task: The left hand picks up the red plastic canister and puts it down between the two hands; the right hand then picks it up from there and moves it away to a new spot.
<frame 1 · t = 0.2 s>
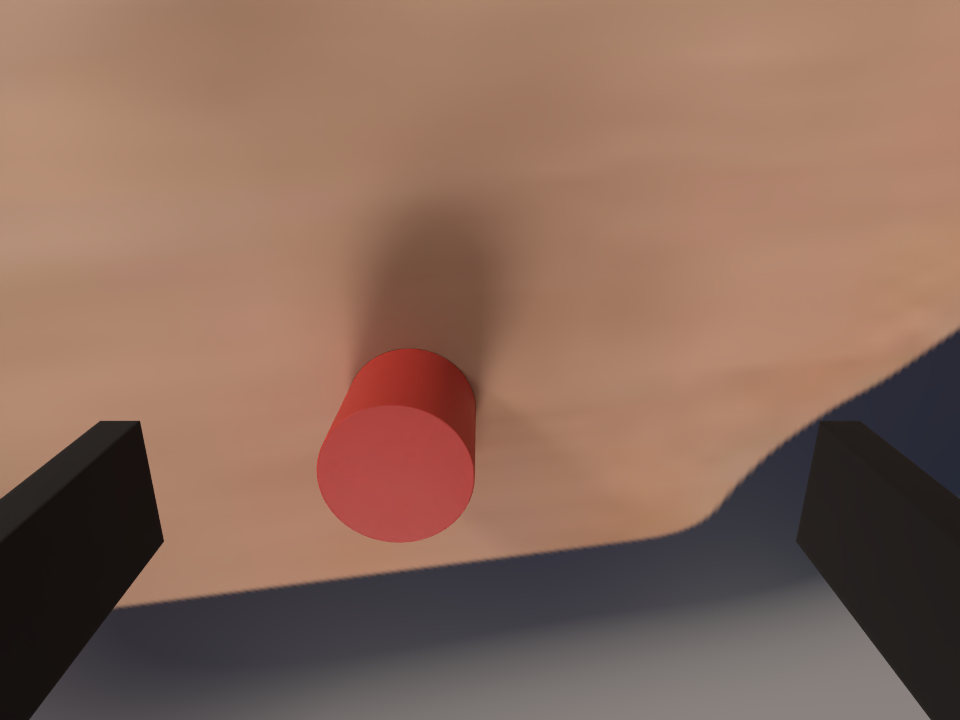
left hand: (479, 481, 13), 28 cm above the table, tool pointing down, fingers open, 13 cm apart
canister: (411, 408, 43), on the table
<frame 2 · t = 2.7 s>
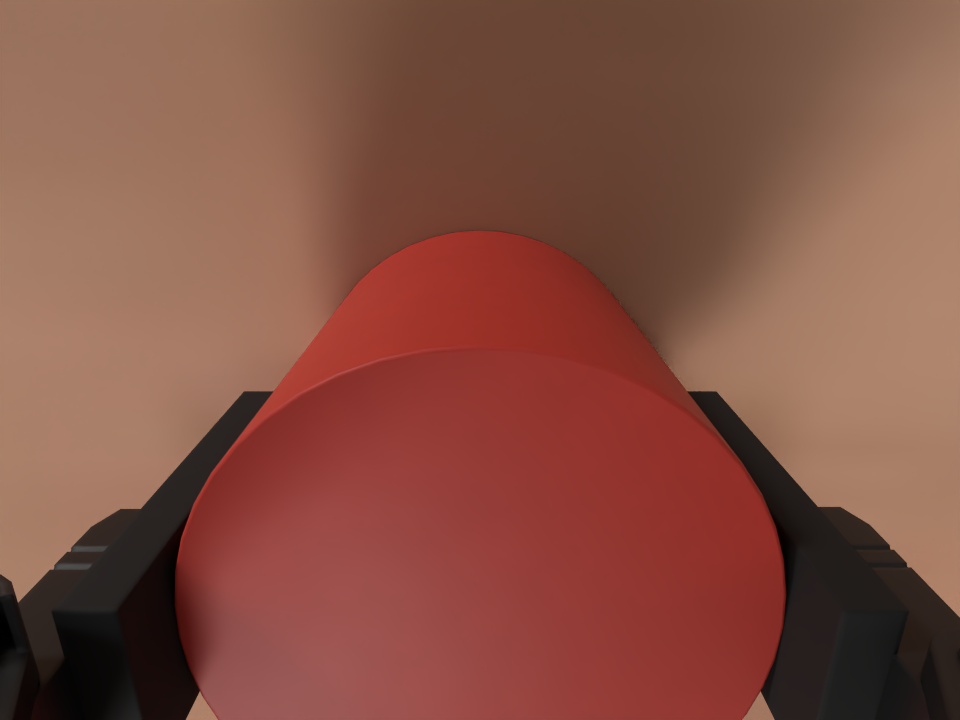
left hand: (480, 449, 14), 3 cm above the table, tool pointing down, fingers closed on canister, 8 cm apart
canister: (480, 391, 17), on the table, touching left hand
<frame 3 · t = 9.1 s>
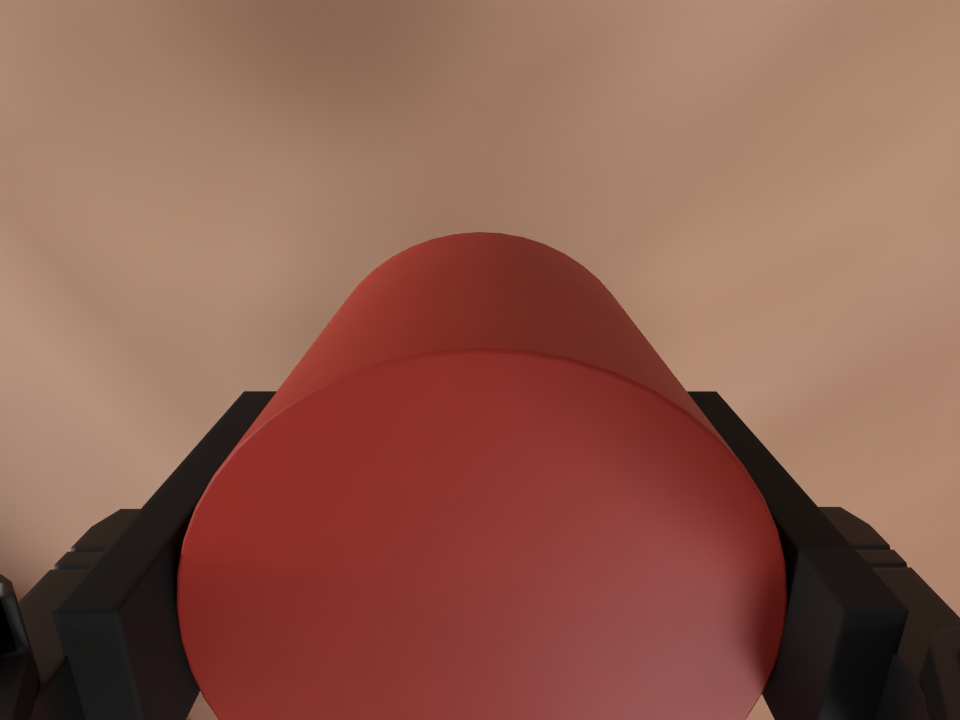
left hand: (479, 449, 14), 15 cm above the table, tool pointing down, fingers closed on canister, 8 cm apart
canister: (481, 392, 17), point 12 cm above the table, touching left hand
when the left hand's fingers open (4 cm above the table, at t = 15.8 s): canister drops 1 cm, on the table.
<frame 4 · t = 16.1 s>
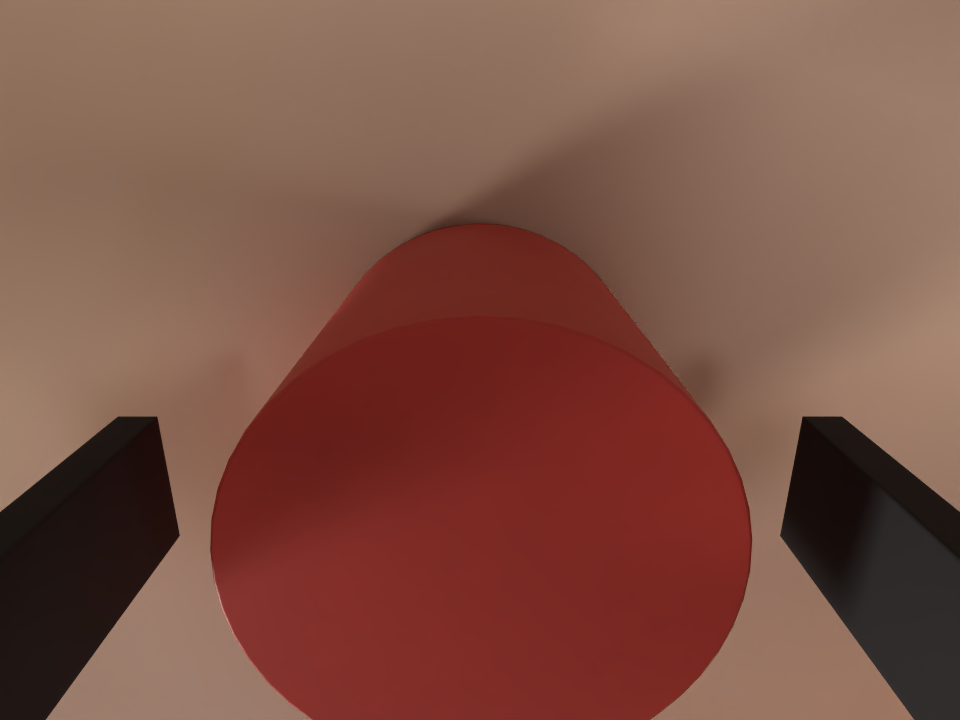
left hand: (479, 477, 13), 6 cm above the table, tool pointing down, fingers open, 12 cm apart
canister: (480, 374, 18), on the table
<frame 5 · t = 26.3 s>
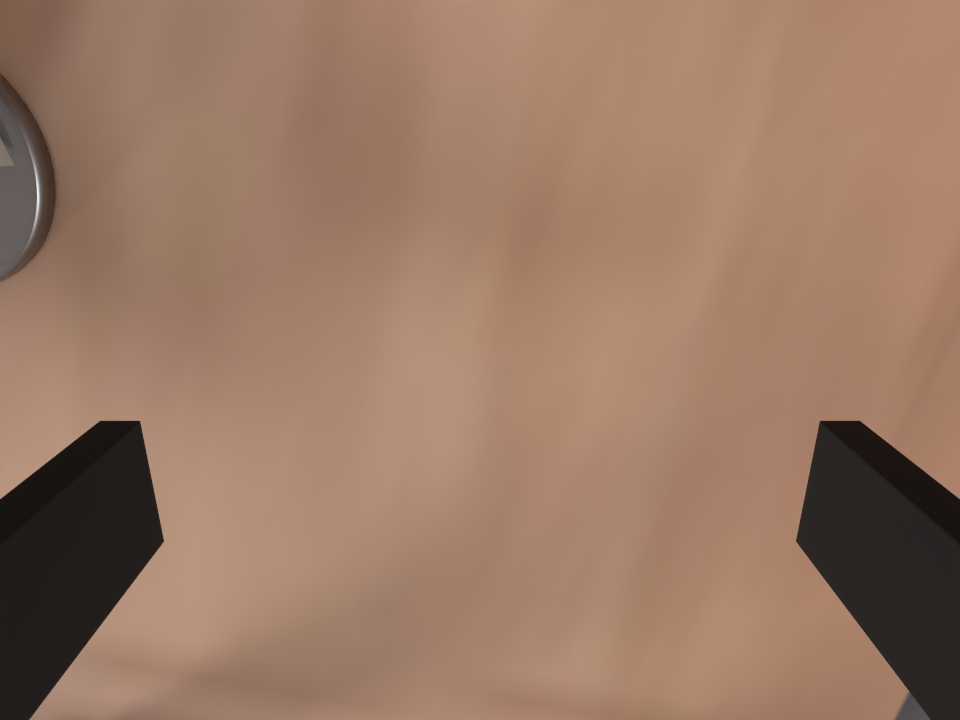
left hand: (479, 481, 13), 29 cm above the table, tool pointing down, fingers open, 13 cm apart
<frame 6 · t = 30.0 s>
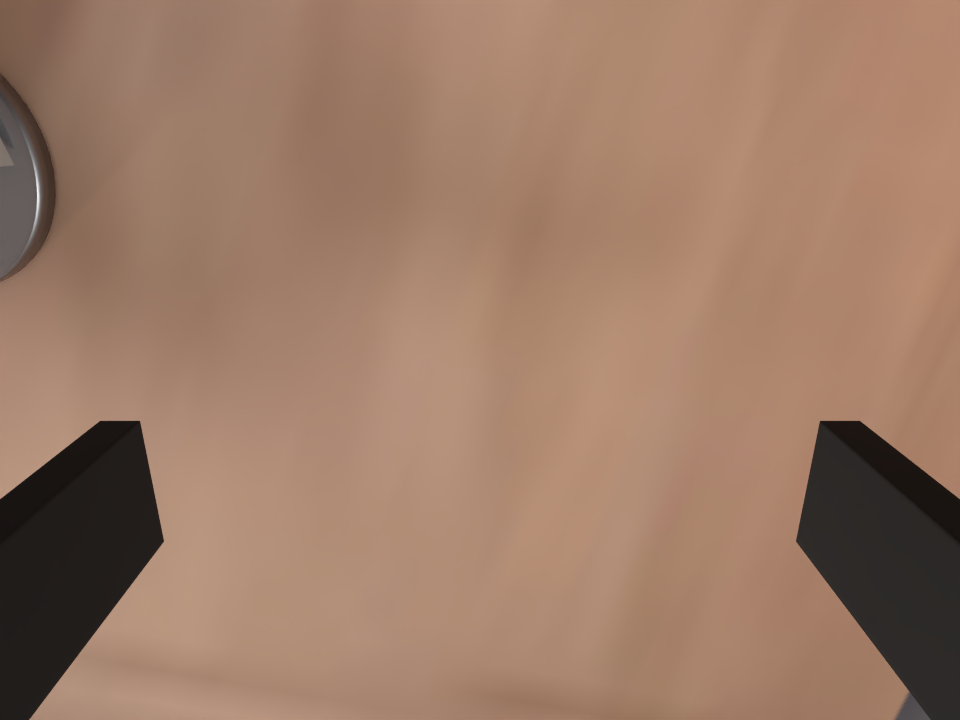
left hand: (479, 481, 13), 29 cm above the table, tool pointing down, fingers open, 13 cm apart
when the right hand's fingers open (4 cm above the table, at t = 33.9 s): canister drops 1 cm, on the table.
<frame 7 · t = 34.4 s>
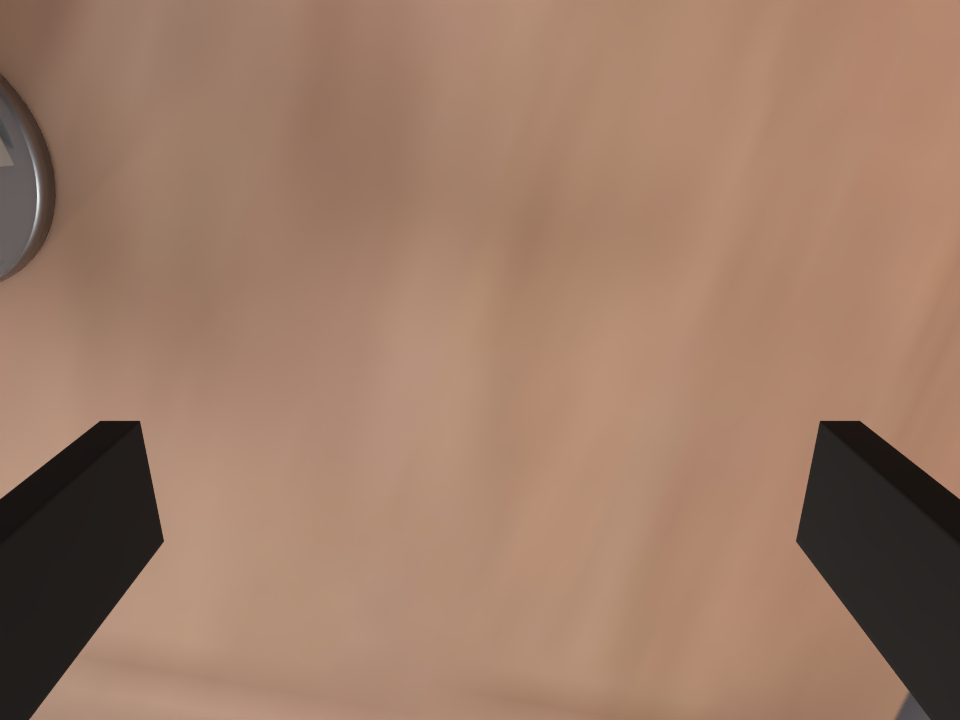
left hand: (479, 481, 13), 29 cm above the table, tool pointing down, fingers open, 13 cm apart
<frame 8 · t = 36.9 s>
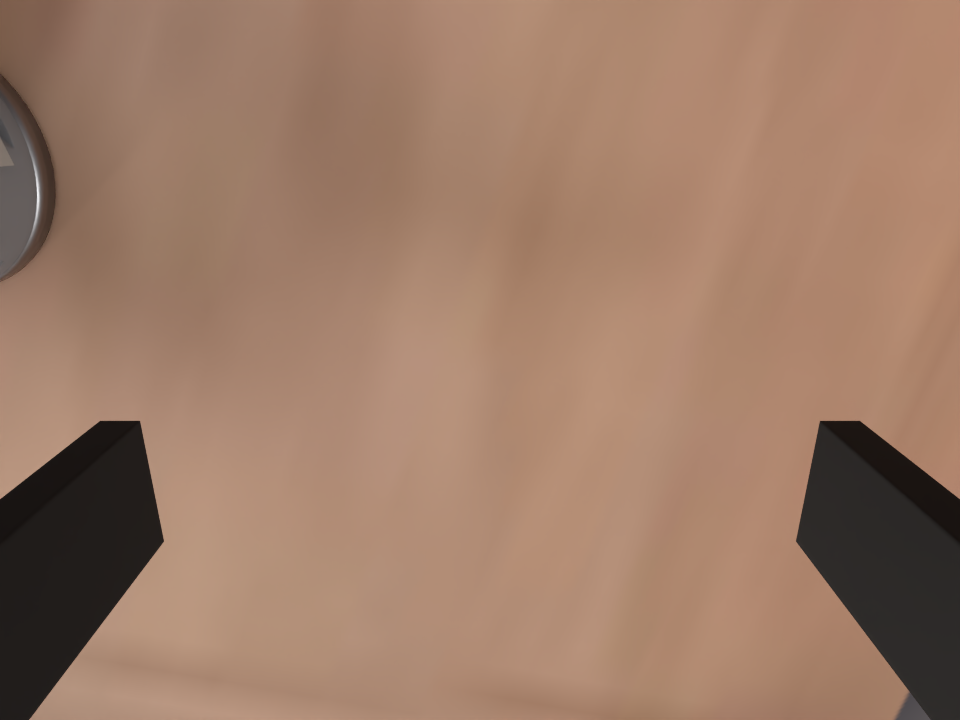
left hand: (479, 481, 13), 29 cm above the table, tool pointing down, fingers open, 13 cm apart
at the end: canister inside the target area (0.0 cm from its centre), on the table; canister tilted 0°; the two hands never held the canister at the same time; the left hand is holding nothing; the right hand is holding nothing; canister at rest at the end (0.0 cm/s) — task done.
